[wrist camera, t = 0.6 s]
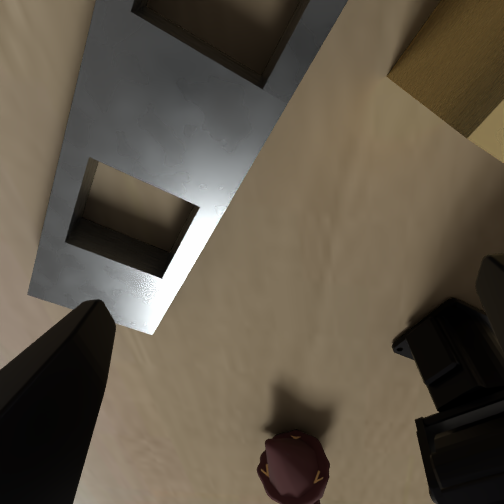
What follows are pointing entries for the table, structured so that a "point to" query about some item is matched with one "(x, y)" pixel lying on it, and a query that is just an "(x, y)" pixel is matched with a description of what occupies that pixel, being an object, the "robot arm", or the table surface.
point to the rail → (160, 148)
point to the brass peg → (460, 69)
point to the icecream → (294, 468)
